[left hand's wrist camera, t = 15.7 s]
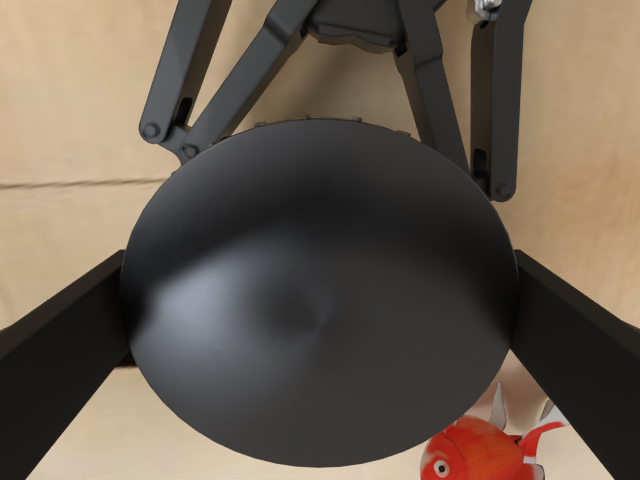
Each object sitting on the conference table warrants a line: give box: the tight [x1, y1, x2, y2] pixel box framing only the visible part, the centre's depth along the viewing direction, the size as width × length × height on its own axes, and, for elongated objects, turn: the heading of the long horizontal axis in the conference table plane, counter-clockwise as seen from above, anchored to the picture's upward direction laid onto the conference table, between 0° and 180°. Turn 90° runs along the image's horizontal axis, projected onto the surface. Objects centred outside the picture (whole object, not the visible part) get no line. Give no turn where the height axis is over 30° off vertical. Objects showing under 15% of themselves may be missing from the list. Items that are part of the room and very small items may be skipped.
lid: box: [120, 114, 519, 468], centre depth 11 cm, size 11×11×2 cm
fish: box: [420, 382, 570, 480], centre depth 27 cm, size 11×16×10 cm
